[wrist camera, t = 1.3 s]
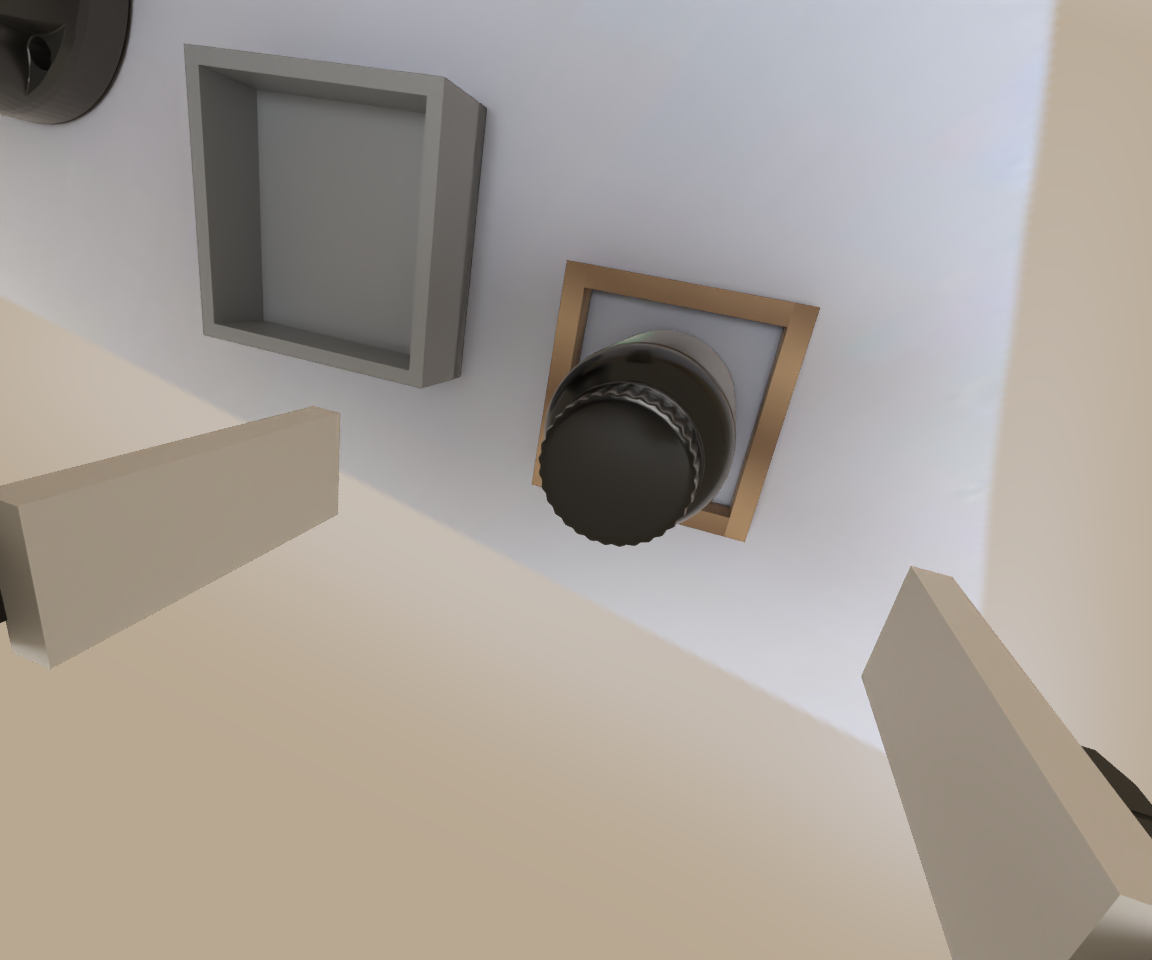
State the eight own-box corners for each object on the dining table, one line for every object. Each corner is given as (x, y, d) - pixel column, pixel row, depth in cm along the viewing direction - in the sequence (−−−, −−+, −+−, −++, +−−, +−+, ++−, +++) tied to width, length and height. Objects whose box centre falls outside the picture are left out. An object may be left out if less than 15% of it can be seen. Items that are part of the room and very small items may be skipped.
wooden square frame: (576, 261, 26) (567, 259, 25) (815, 306, 24) (820, 307, 23) (541, 475, 30) (531, 484, 29) (744, 529, 28) (744, 542, 27)
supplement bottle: (611, 313, 27) (525, 329, 16) (754, 347, 25) (769, 389, 14) (583, 446, 29) (490, 540, 18) (712, 482, 28) (696, 606, 17)
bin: (257, 76, 28) (183, 43, 24) (486, 108, 25) (444, 76, 22) (264, 329, 32) (203, 334, 28) (460, 376, 30) (421, 388, 26)
